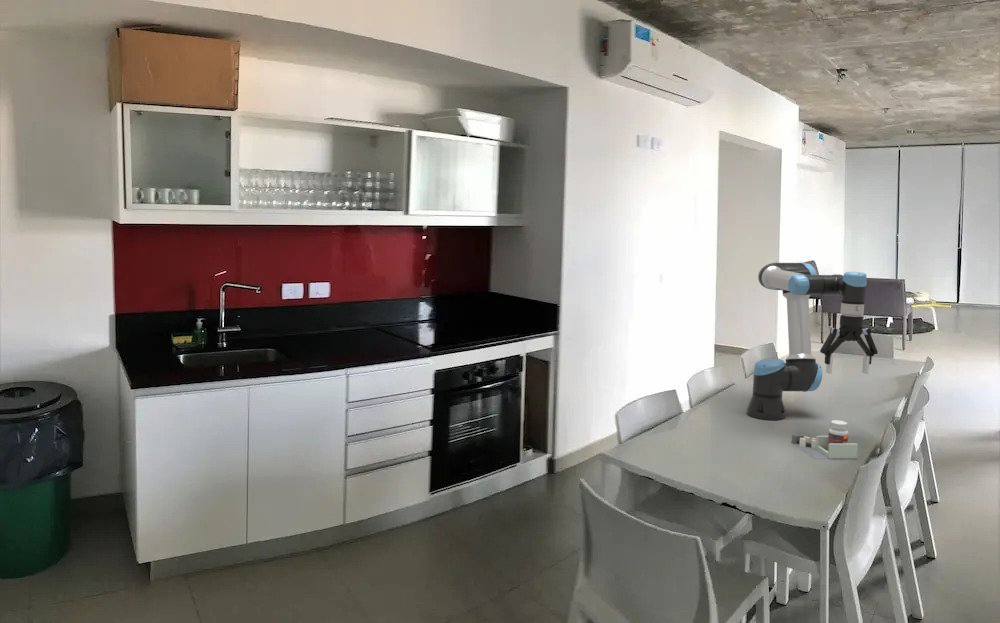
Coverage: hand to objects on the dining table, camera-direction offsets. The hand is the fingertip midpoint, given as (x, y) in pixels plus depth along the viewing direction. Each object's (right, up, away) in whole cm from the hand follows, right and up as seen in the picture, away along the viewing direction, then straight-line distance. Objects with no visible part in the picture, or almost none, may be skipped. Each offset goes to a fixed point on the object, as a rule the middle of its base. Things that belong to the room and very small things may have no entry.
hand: (846, 373), depth 264 cm
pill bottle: (-9, -27, -11) cm, 31 cm away
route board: (-12, -28, -7) cm, 31 cm away
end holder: (-9, -27, -11) cm, 31 cm away
